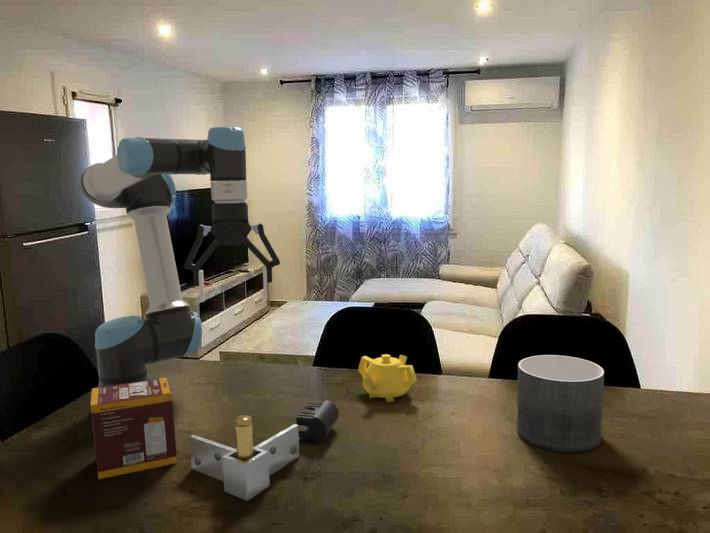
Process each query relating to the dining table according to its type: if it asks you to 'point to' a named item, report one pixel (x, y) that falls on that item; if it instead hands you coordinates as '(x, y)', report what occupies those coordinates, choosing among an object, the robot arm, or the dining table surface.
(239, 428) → the hinge pin
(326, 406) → the end cap
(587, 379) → the planter
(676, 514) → the dining table surface
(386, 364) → the teapot
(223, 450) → the hinge leaves
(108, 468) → the supplement box
